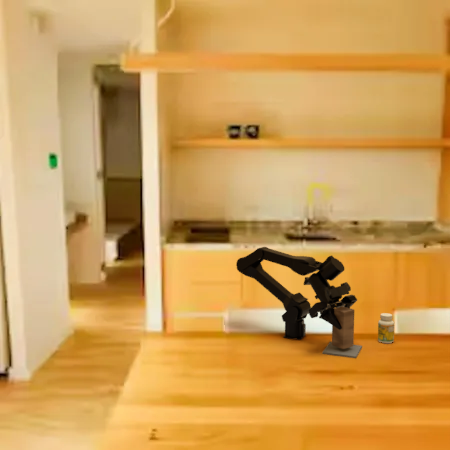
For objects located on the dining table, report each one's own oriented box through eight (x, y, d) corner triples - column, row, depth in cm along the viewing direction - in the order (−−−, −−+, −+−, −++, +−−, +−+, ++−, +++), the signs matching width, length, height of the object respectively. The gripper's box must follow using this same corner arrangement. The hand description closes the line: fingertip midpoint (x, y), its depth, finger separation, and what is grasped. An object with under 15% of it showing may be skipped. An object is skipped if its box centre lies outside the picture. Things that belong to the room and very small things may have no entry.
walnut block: (331, 345, 197) (332, 308, 196) (341, 342, 200) (342, 306, 199) (343, 349, 193) (344, 312, 192) (353, 346, 196) (354, 309, 195)
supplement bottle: (396, 342, 205) (397, 315, 204) (385, 344, 202) (386, 317, 201) (386, 337, 210) (386, 311, 208) (374, 340, 207) (375, 313, 206)
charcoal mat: (322, 353, 194) (322, 351, 194) (330, 343, 204) (330, 341, 204) (356, 358, 190) (356, 356, 190) (362, 347, 200) (362, 345, 200)
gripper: (315, 279, 191) (340, 320, 184) (353, 271, 202) (378, 309, 195) (298, 297, 198) (321, 337, 191) (336, 289, 210) (359, 327, 202)
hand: (346, 327), depth 195 cm, fingers closed on walnut block, 5 cm apart
